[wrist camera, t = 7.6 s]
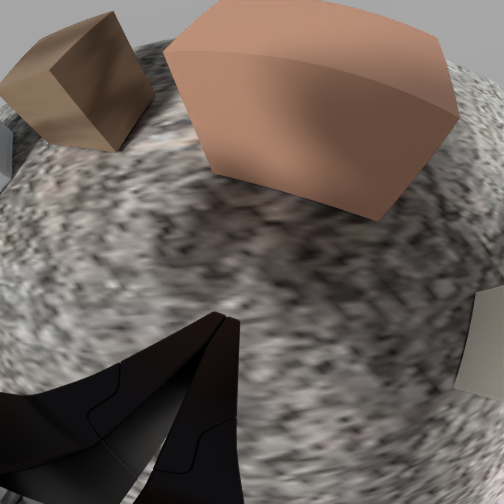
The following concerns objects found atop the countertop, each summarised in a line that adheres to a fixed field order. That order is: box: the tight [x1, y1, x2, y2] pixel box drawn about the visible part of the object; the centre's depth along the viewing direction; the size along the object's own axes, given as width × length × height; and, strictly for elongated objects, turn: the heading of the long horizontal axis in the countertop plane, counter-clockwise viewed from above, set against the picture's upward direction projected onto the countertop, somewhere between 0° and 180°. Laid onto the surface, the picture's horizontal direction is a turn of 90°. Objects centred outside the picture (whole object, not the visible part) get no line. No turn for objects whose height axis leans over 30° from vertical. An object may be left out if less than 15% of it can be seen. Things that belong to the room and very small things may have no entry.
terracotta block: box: [163, 0, 460, 222], centre depth 11 cm, size 6×10×9 cm, turn 70°
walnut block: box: [0, 11, 155, 153], centre depth 15 cm, size 6×10×9 cm, turn 70°
